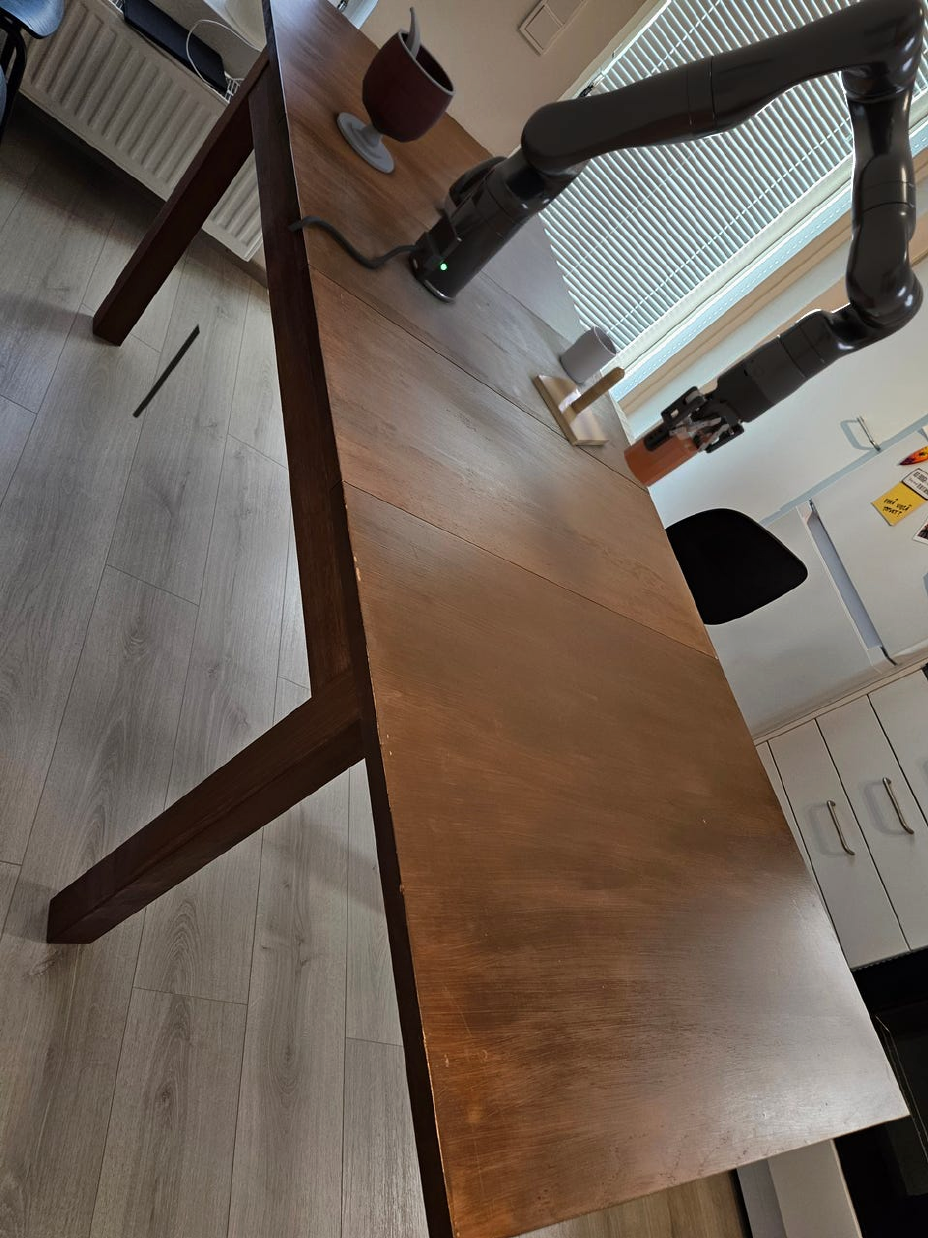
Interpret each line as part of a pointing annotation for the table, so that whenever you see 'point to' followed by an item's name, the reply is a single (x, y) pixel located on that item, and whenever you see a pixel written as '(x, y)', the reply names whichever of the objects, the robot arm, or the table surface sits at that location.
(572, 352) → the cup
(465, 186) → the pump dispenser
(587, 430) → the cup stand
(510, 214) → the robot arm
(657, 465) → the terracotta cup
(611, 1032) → the table surface
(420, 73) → the mate gourd
